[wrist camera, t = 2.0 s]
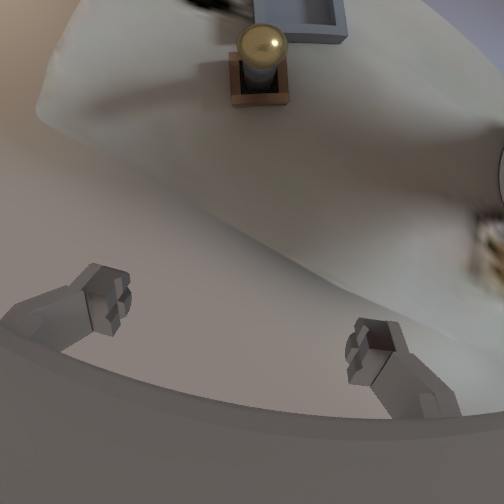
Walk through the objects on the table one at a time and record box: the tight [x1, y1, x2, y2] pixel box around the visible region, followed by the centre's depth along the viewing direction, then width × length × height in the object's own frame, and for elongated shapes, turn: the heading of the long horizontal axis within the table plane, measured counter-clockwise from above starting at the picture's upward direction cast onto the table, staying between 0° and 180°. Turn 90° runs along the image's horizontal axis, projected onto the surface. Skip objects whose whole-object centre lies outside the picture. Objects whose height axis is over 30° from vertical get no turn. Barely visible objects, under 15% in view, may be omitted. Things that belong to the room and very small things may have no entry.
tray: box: [253, 0, 348, 44], centre depth 27 cm, size 10×10×4 cm
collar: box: [229, 52, 289, 107], centre depth 31 cm, size 6×6×3 cm
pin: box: [237, 23, 288, 93], centre depth 24 cm, size 4×4×16 cm
